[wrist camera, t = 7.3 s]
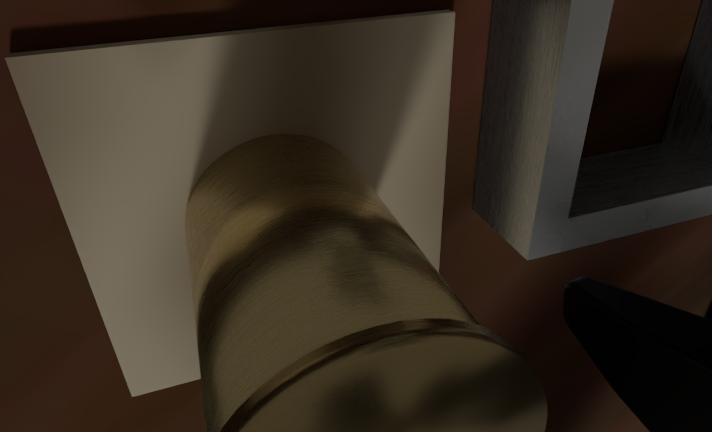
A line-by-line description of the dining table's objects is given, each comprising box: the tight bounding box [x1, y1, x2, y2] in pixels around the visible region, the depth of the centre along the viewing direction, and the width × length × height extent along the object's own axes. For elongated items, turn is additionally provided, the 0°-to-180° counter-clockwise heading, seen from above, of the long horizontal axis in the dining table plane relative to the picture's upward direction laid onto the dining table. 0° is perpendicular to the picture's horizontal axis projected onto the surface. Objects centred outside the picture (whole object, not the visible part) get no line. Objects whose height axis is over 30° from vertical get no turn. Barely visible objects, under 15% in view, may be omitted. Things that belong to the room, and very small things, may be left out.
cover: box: [185, 134, 548, 432], centre depth 11 cm, size 5×5×8 cm
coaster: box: [5, 10, 455, 397], centre depth 14 cm, size 10×10×1 cm
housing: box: [473, 0, 712, 260], centre depth 15 cm, size 8×8×3 cm
